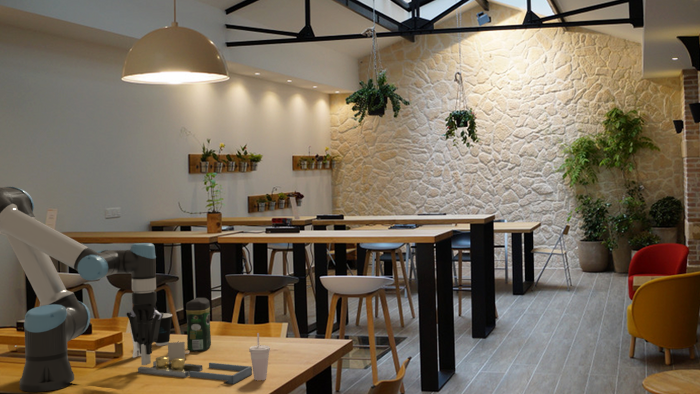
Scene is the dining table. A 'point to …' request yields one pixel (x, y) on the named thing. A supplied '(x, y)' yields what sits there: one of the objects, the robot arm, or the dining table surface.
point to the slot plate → (170, 370)
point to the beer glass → (135, 347)
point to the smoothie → (259, 360)
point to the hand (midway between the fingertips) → (146, 364)
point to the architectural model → (177, 350)
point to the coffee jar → (198, 324)
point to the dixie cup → (164, 330)
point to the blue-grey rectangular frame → (231, 379)
